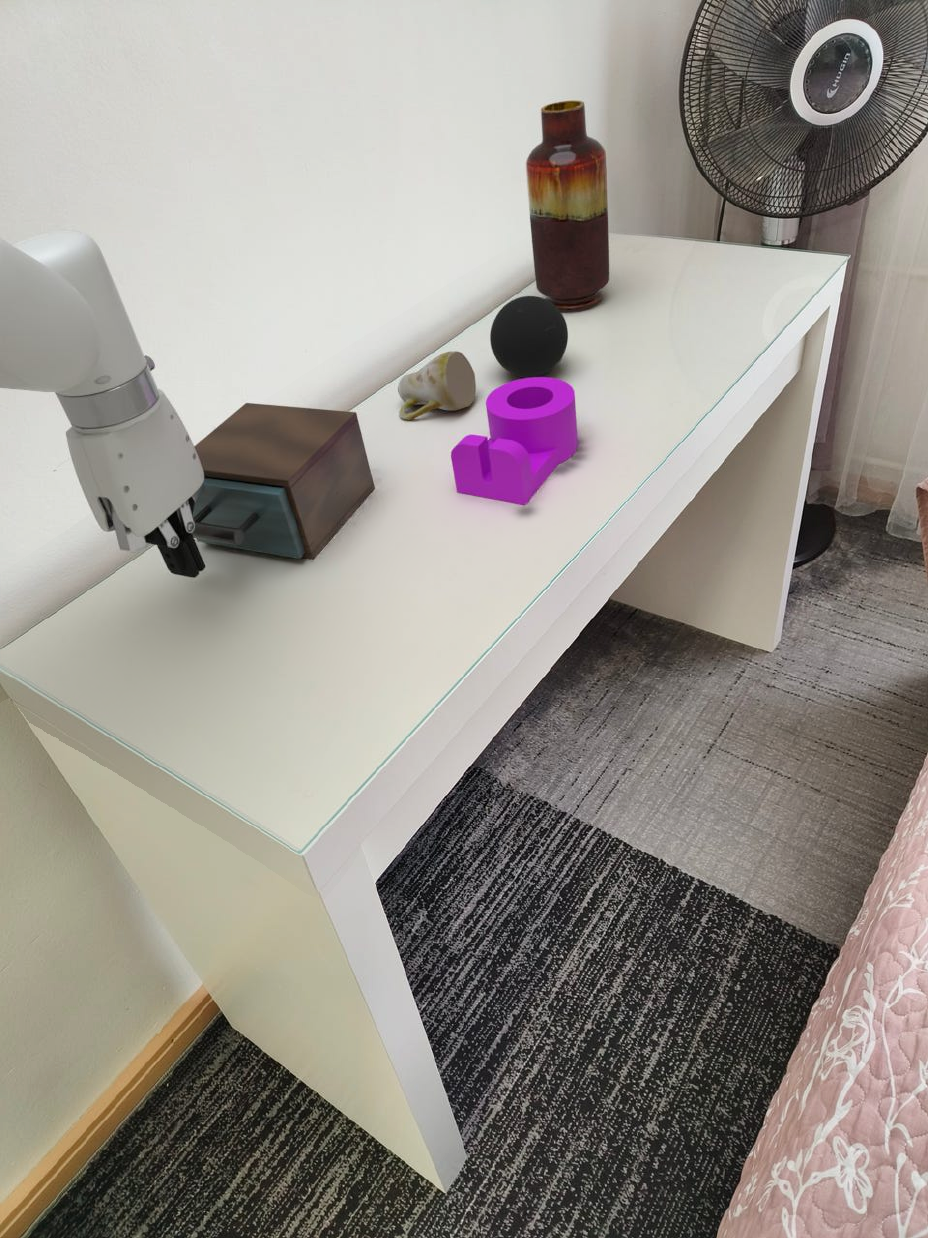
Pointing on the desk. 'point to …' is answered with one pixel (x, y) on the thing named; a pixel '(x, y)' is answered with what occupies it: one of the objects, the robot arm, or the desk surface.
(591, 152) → the vase
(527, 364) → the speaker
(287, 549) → the drawer
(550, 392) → the tape dispenser
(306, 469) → the cabinet
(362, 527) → the desk surface
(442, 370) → the mug
